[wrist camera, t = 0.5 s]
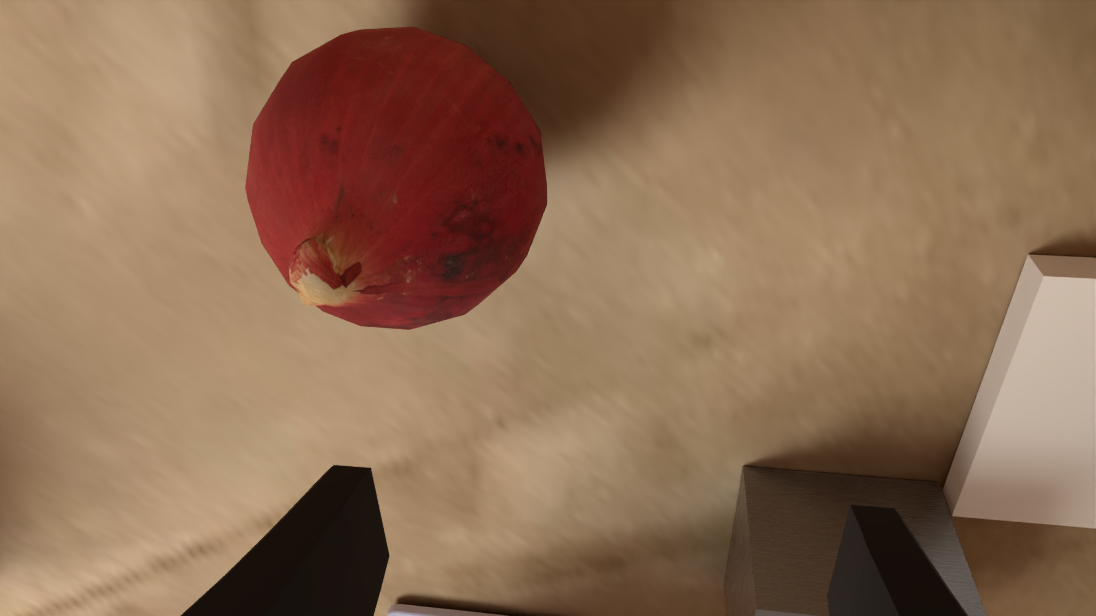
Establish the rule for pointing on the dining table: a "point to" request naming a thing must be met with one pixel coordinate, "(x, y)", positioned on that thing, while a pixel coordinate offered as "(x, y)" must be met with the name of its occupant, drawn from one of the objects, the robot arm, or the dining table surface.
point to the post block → (1035, 406)
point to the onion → (395, 178)
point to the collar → (825, 538)
